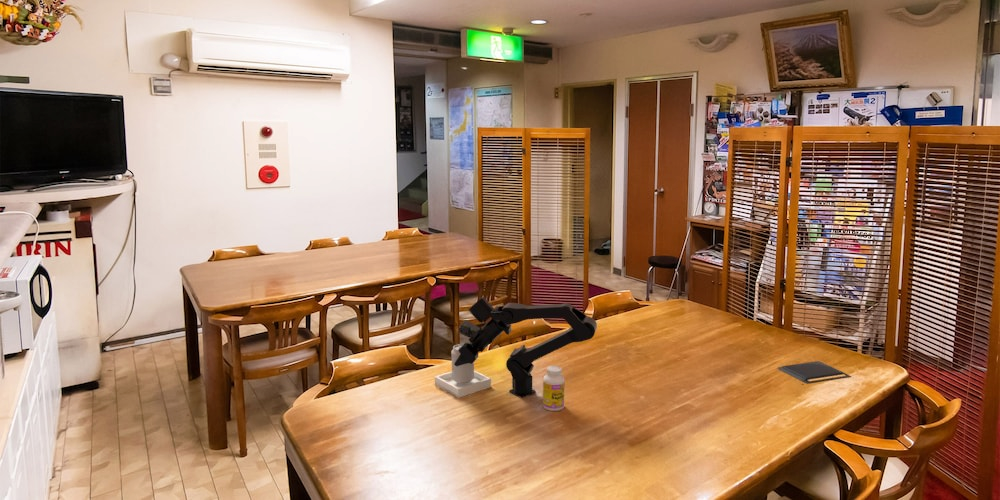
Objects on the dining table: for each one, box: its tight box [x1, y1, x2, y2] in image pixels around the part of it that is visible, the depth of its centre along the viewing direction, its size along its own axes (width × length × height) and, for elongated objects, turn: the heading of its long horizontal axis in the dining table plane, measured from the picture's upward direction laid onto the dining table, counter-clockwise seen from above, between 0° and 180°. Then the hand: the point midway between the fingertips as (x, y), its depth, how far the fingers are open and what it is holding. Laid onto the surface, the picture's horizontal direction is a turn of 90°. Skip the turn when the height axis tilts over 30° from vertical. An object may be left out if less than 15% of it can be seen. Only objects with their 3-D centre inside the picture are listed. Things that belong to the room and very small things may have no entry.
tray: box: [434, 369, 492, 399], centre depth 209 cm, size 14×14×3 cm
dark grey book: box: [777, 360, 852, 385], centre depth 220 cm, size 20×2×15 cm
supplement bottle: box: [542, 365, 566, 412], centre depth 192 cm, size 7×7×13 cm
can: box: [450, 343, 475, 384], centre depth 207 cm, size 8×8×12 cm
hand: (458, 361), depth 207 cm, fingers closed on can, 7 cm apart
